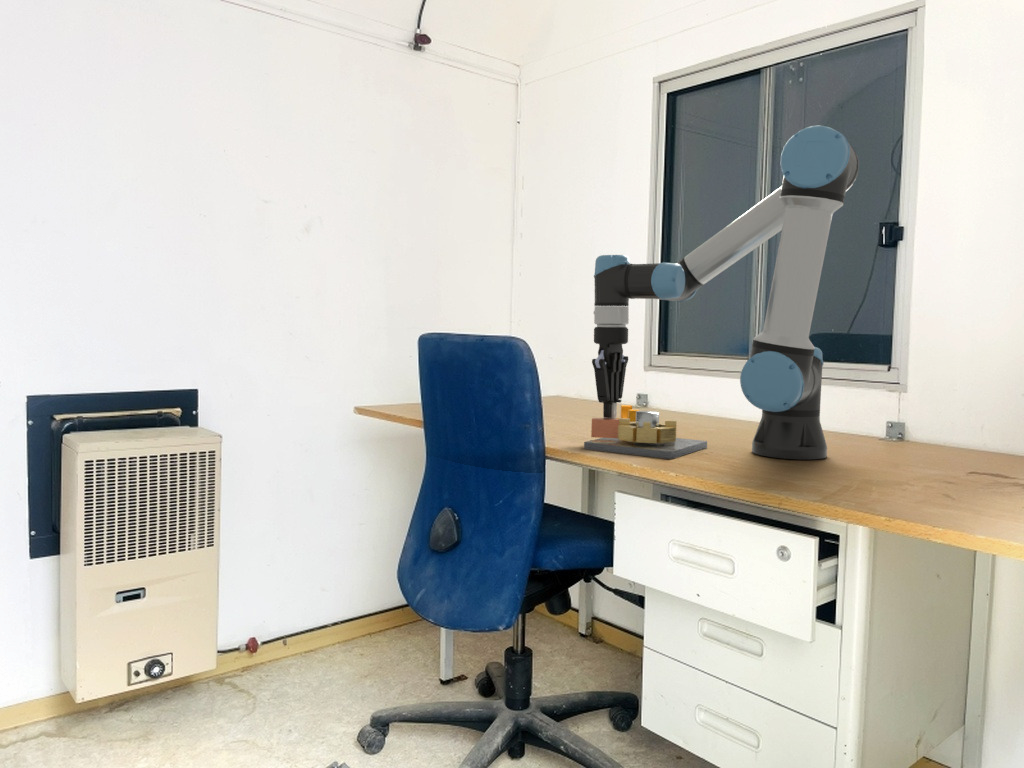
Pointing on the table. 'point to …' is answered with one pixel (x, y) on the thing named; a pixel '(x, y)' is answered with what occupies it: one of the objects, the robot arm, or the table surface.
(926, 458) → the table surface
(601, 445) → the flange plate
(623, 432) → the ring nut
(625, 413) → the pipe clamp
